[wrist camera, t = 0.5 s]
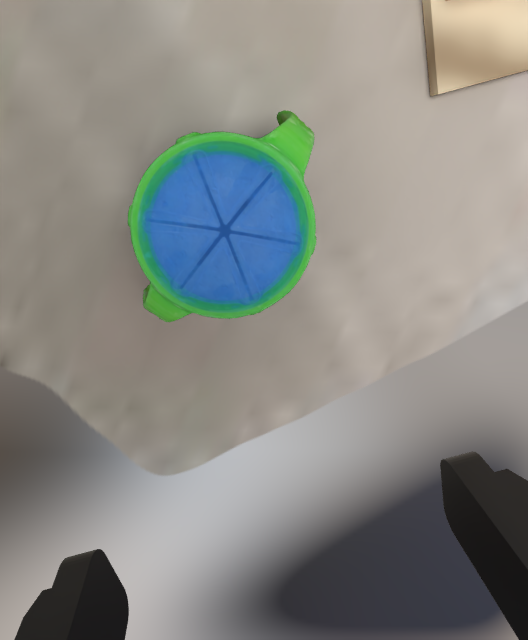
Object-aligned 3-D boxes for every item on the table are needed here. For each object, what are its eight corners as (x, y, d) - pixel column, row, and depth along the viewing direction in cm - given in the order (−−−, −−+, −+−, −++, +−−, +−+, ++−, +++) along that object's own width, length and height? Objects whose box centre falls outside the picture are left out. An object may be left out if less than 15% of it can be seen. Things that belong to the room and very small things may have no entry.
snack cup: (203, 321, 36) (198, 379, 27) (103, 233, 33) (58, 265, 23) (339, 189, 34) (387, 201, 24) (246, 78, 30) (259, 42, 21)
